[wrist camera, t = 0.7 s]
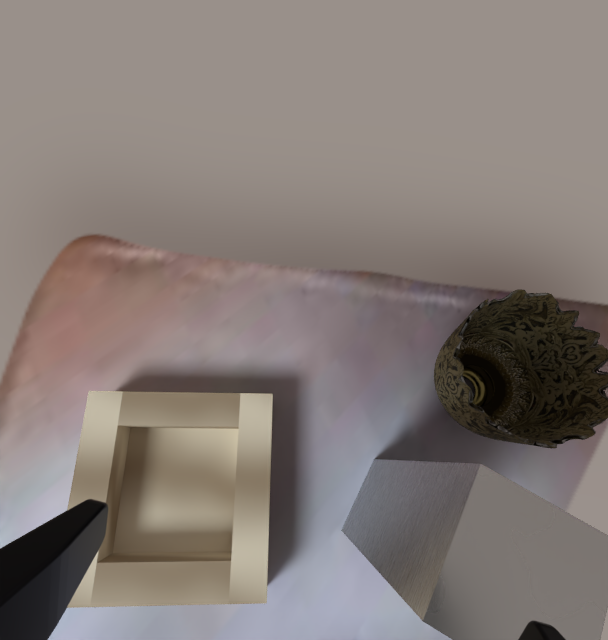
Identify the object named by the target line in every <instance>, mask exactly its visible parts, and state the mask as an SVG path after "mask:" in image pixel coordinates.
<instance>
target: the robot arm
mask: <svg viewBox="0 0 608 640" xmlns="http://www.w3.org/2000/svg"><path fill="white" fill-rule="evenodd" d="M107 518H108V504H107V503H105V502H101V501H98V500H94V499H88V500H85V501H83V502H81V503H80V504H78V505H76V506H74V507H73V508H71V509H69V510H67V511H66V512H64V513H62V514H60V515H59V516H57V517H55V518H53V519H52V520H50V521H48V522H46V523H44V524H43V525H41V526H39V527H37V528H36V529H34V530H32V531H30V532H29V533H27V534H25V535H23V536H22V537H20V538H18V539H16V540H15V541H13V542H11V543H9V544H8V545H6V546H4V547H2V548H1V549H0V640H48V638H49V636H50V635H51V633H52V632H53V630H54V629H55V627H56V626H57V624H58V622H59V620H60V619H61V617H62V615H63V613H64V612H65V610H66V608H67V606H68V604H69V603H70V601H71V599H72V597H73V595H74V594H75V592H76V590H77V588H78V586H79V585H80V583H81V581H82V579H83V577H84V576H85V574H86V572H87V570H88V568H89V567H90V565H91V563H92V561H93V559H94V557H95V556H96V554H97V552H98V550H99V548H100V547H101V545H102V543H103V540H104V538H105V534H106V527H107ZM518 640H566V639H565V638H564V637H563V636H562V635H561V634H560V633H559V631H558V630H557V629H556V628H554V627H553V626H551V625H549V624H546V623H542V622H539V621H535V620H532V621H530V622H529V623H528V624H527V626H526V627H525V629H524V631H523V632H522V634H521V636H520V637H519V639H518Z"/></svg>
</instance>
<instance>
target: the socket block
mask: <svg viewBox="0 0 608 640" xmlns="http://www.w3.org/2000/svg"><path fill="white" fill-rule="evenodd" d="M272 408H273V394H259V393H192V392H125V391H89V393H88V398H87V404H86V409H85V415H84V421H83V426H82V432H81V437H80V443H79V448H78V454H77V459H76V465H75V470H74V476H73V482H72V487H71V493H70V498H69V504H68V509H67V510H69V509H71V508H73V507H74V506H76V505H78V504H80V503H81V502H83V501H85V500H88V499H94V500H98V501H101V502H105V503H107V504H108V518H107V527H106V534H105V538H104V540H103V543H102V545H101V547H100V548H99V550H98V552H97V554H96V556H95V557H94V559H93V561H92V563H91V565H90V567H89V568H88V570H87V572H86V574H85V576H84V577H83V579H82V581H81V583H80V585H79V586H78V588H77V590H76V592H75V594H74V595H73V597H72V599H71V601H70V603H69V604H68V606H67V608H71V607H116V606H161V605H207V604H252V603H267V579H268V544H269V510H270V476H271V442H272Z"/></svg>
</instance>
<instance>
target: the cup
mask: <svg viewBox="0 0 608 640" xmlns="http://www.w3.org/2000/svg"><path fill="white" fill-rule="evenodd" d="M488 300H489V299H487V300H485V301H484V302H482V303H481V304H480V305H479V306H478V307H477V308H476V309H474V310H473V311H472V312H471V314H470V315H469V316H468V317H467V318H466V319H465V320H464V321H463V322H462V324H461V325H460V326H459V327H458V328H457V329H456V330H455V331H454V332H453V333H452V334H451V336H450V337H449V338H448V339H447V341H446V342H445V344H444V345H443V347H442V348H441V350H440V352H439V355H438V357H437V360H436V363H435V369H434V381H435V387H436V391H437V394H438V397H439V399H440V401H441V403H442V405H443V406H444V408H445V409H446V411H447V412H448V413H449V415H450V416H451V417H452V418H453V419H454V420H455V421H457V422H458V423H459V424H460V425H462V426H463V427H465V428H466V429H468V430H470V431H472V432H474V433H476V434H479V435H481V436H485V437H488V438H492V439H496V440H502V441H508V442H514V443H521V444H528V445H534V446H540V447H546V448H557V444H563V443H564V442H565V441H568V440H570V439H582V440H584V439H587V438H589V437H591V436H593V435H594V434H595V431H594V430H593V427H594V426H596V425H598V424H600V423H602V422H604V421H605V420H606V419H607V418H608V398H607V396H606V394H605V392H604V391H603V390H604V389H606V388H608V373H607V372H602V371H599V370H598V369H600V368H601V367H602V366H603V365H604V364H605V363H606V362H607V361H608V350H607V349H606V348H604V346H602V345H599V344H597V343H598V341H597V340H598V339H599V337H600V333H598V332H595V331H592V330H587V329H584V328H583V327H574V324H575V322H576V321H577V318H578V315H579V311H574V310H573V311H561V310H560V308H559V306H558V304H559V303H558V302H557V301H556V300H555V299H554V297H553V296H552V295H551V294H549V293H536V294H534V293H530V294H527V293H526V291H525V290H516V291H513V292H511V293H510V294H509V295H508V296H506V297H505V298H503V299H499V300H497V299H494V300H492V301H490V302H488ZM487 302H488V303H487ZM596 371H598V372H600V373H597V372H596ZM601 373H604V374H601ZM464 378H466V379H468V380H469V381H470V382H471V383H472V384H473V386H474V390H475V393H474V397H473V393H472V390H471V388H470V387H469V386H468V385H467V384H466V382H465V380H464Z"/></svg>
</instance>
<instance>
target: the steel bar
mask: <svg viewBox="0 0 608 640" xmlns="http://www.w3.org/2000/svg"><path fill="white" fill-rule="evenodd" d="M341 531H342V532H343V533H344V534H345V535H346V536H347V537H348V539H349V540H350V541H351V542H352V543H353V544H354V545H355V546H356V547H357V549H358V550H359V551H360V552H361V553H362V554H363V555H364V556H365V557H366V559H367V560H368V561H369V562H370V563H371V564H372V565H373V566H374V567H375V569H376V570H377V571H378V572H379V573H380V574H381V575H382V576H383V577H384V579H385V580H386V581H387V582H388V583H389V584H390V585H391V586H392V587H393V589H394V590H395V591H396V592H397V593H398V594H399V595H400V596H401V597H402V599H403V600H404V601H405V602H406V603H407V604H408V605H409V606H410V607H411V609H412V610H413V611H414V612H415V613H416V614H417V615H418V616H419V617H420V619H421V620H422V621H423V622H425V623H427V624H428V625H430V626H432V627H433V628H435V629H436V630H438V631H440V632H441V633H443V634H445V635H446V636H448V637H449V638H451V639H453V640H518V639H519V637H520V636H521V634H522V632H523V631H524V629H525V627H526V626H527V624H528V623H529V622H530V621H532V620H535V621H539V622H542V623H546V624H549V625H551V626H553V627H554V628H556V629H557V630H558V631H559V633H560V634H561V635H562V636H563V637H564V638H565V639H566V640H600V638H601V633H602V629H603V625H604V621H605V616H606V612H607V608H608V535H606V534H604V533H603V532H601V531H599V530H597V529H595V528H594V527H592V526H590V525H588V524H587V523H585V522H583V521H581V520H580V519H578V518H576V517H574V516H573V515H571V514H569V513H567V512H565V511H564V510H562V509H560V508H558V507H557V506H555V505H553V504H551V503H550V502H548V501H546V500H544V499H542V498H541V497H539V496H537V495H535V494H534V493H532V492H530V491H528V490H527V489H525V488H523V487H521V486H519V485H518V484H516V483H514V482H512V481H511V480H509V479H507V478H505V477H504V476H502V475H500V474H498V473H496V472H495V471H493V470H491V469H489V468H488V467H486V466H484V465H482V464H477V463H453V462H429V461H405V460H381V459H374V461H373V463H372V465H371V467H370V470H369V472H368V474H367V476H366V478H365V480H364V483H363V485H362V487H361V489H360V491H359V493H358V496H357V498H356V500H355V502H354V504H353V506H352V508H351V511H350V513H349V515H348V517H347V519H346V521H345V524H344V526H343V528H342V530H341Z"/></svg>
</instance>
